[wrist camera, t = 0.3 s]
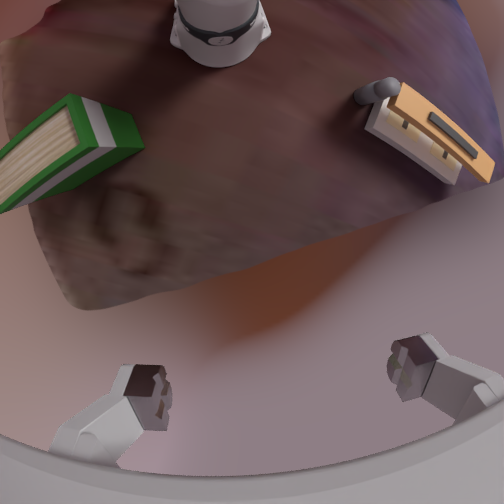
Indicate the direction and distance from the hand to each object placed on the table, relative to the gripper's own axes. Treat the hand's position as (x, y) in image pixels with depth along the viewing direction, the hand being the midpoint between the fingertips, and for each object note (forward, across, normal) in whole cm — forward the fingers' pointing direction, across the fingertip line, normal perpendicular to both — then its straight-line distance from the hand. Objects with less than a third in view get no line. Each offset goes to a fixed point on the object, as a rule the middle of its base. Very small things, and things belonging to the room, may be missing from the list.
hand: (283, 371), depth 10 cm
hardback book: (+47, +27, -10) cm, 56 cm away
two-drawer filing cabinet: (+49, -36, -11) cm, 61 cm away
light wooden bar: (+40, -38, -10) cm, 56 cm away
